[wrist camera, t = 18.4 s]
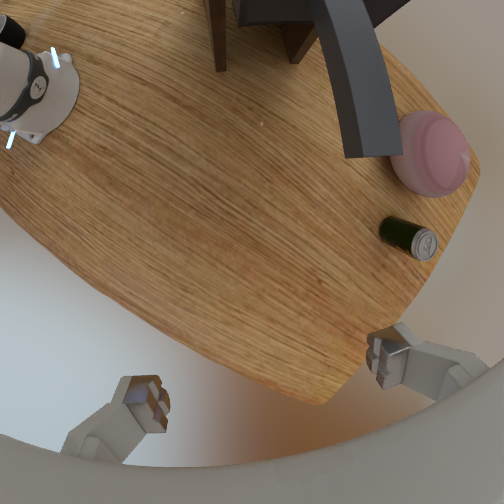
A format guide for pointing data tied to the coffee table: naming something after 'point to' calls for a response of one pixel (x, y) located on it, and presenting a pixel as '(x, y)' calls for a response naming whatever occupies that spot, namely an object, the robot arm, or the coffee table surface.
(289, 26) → the stand
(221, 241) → the coffee table surface
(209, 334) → the coffee table surface
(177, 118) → the coffee table surface
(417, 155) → the pink rounded ball
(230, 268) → the coffee table surface
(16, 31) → the mug
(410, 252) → the beer can
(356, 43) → the basket
